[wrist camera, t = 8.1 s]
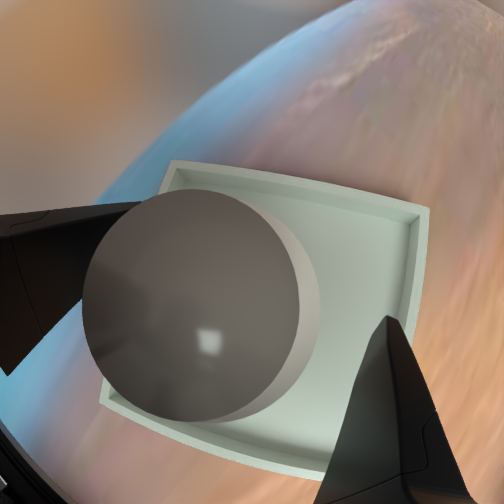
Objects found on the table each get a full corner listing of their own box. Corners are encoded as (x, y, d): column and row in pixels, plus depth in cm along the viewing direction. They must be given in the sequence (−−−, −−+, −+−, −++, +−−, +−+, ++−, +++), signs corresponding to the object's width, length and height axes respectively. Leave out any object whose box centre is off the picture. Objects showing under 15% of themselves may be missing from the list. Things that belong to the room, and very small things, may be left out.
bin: (356, 468, 14) (363, 486, 11) (120, 396, 17) (98, 402, 15) (415, 222, 17) (429, 208, 15) (184, 177, 21) (171, 159, 18)
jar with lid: (318, 349, 16) (360, 408, 4) (234, 371, 16) (99, 446, 4) (294, 267, 17) (274, 136, 5) (213, 290, 17) (61, 219, 6)
